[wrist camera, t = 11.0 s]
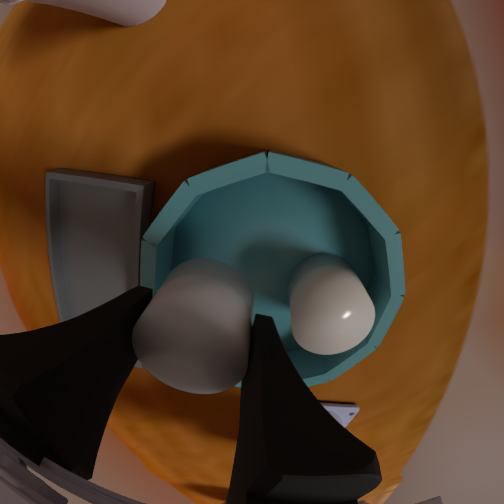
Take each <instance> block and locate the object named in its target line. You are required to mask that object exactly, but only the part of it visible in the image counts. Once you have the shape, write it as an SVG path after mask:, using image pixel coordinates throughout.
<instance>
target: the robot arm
mask: <svg viewBox="0 0 504 504" xmlns="http://www.w3.org/2000/svg"><path fill="white" fill-rule="evenodd" d="M152 298H153V289H151V288H147V287H143V286H140V285H138V286H136V287H134V288H132V289H130V290H128V291H127V292H125V293H123V294H121V295H119V296H117V297H116V298H114V299H112V300H110V301H108V302H106V303H104V304H102V305H100V306H98V307H96V308H94V309H92V310H90V311H88V312H86V313H83V314H81V315H79V316H77V317H74V318H72V319H69V320H66V321H63V322H61V323H58V324H55V325H51V326H47V327H44V328H40V329H36V330H32V331H27V332H22V333H15V334H6V335H0V504H67V503H68V500H67V498H65V497H64V496H62V495H60V494H59V493H58V492H56V491H55V490H54V489H52V488H51V487H50V486H48V485H47V484H46V483H45V482H44V481H43V480H41V479H40V478H38V477H37V476H35V475H34V474H33V473H31V472H30V471H29V470H28V469H27V466H28V467H30V468H31V469H33V470H34V471H35V472H37V473H39V474H40V475H42V476H43V477H45V478H46V479H48V480H50V481H51V482H53V483H54V484H56V485H58V486H60V487H61V488H63V489H65V490H67V491H68V492H70V493H72V494H74V495H76V496H78V497H80V498H82V499H84V500H86V501H88V502H90V503H92V504H145V503H141V502H139V501H136V500H133V499H130V498H127V497H124V496H122V495H119V494H117V493H114V492H112V491H109V490H107V489H105V488H103V487H100V486H98V485H96V484H94V483H92V482H90V481H87V480H89V479H91V478H92V475H93V470H94V466H95V461H96V457H97V453H98V449H99V446H100V443H101V440H102V436H103V433H104V430H105V427H106V425H107V422H108V419H109V416H110V413H111V411H112V408H113V406H114V403H115V401H116V398H117V396H118V394H119V392H120V390H121V388H122V386H123V385H124V383H125V381H126V379H127V378H128V376H129V374H130V372H131V371H132V369H133V367H134V366H135V364H136V362H137V360H138V358H137V356H136V354H135V352H134V349H133V345H132V332H133V328H134V326H135V324H136V322H137V321H138V319H139V318H140V316H141V315H142V313H143V312H144V310H145V309H146V307H147V306H148V304H149V303H150V301H151V300H152ZM358 411H359V406H358V405H352V404H332V403H320V402H319V401H318V400H317V398H316V397H315V396H314V395H313V393H312V392H311V391H310V389H309V388H308V387H307V385H306V384H305V382H304V381H303V379H302V378H301V376H300V374H299V373H298V371H297V369H296V368H295V366H294V364H293V362H292V361H291V359H290V357H289V355H288V353H287V351H286V349H285V347H284V345H283V342H282V340H281V338H280V335H279V333H278V330H277V328H276V325H275V322H274V319H273V318H272V317H271V316H266V315H261V314H255V318H254V322H253V325H252V333H251V342H250V352H249V360H248V367H247V371H246V374H245V376H244V377H243V379H242V380H241V401H240V423H239V433H238V439H237V446H236V452H235V458H234V464H233V470H232V476H231V481H230V487H229V492H228V497H227V503H226V504H369V503H366V502H365V501H364V500H362V501H357V499H359V498H360V497H362V496H364V495H365V494H367V493H369V492H370V491H372V490H373V489H375V488H376V487H377V486H378V485H379V484H380V483H381V481H382V476H381V471H380V465H379V461H378V458H377V455H376V452H375V451H374V450H373V449H371V448H370V447H369V446H367V445H366V444H364V443H363V442H362V441H360V440H359V439H358V438H356V437H355V436H354V435H352V434H351V433H350V432H349V431H348V430H347V429H346V428H345V427H346V426H347V425H348V423H349V422H350V421H351V420H352V419H353V417H354V416H355V415H356V414H357V412H358ZM26 465H27V466H26ZM417 504H442V499H441V497H440V496H438V497H435V498H432V499H429V500H426V501H423V502H419V503H417Z"/></svg>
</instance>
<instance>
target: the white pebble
mask: <svg viewBox="0 0 504 504" xmlns="http://www.w3.org/2000/svg"><path fill="white" fill-rule="evenodd" d="M254 307H255V300H254V294H253V291H252V288H251V286H250V284H249V283H248V281H247V280H246V279H245V277H244V276H243V275H242V274H241V273H240V272H239V271H238V270H236V269H235V268H233V267H232V266H230V265H228V264H226V263H224V262H221V261H218V260H215V259H209V258H197V259H192V260H188V261H185V262H183V263H181V264H179V265H178V266H177V267H175V268H174V269H173V270H172V271H171V273H170V274H169V275H168V277H167V278H166V280H165V281H164V283H163V284H162V285H161V287H160V288H159V290H158V291H157V293H156V294H155V296H154V297H153V298H152V300H151V301H150V303H149V304H148V306H147V307H146V309H145V310H144V312H143V313H142V315H141V316H140V318H139V319H138V321H137V322H136V324H135V326H134V328H133V332H132V345H133V349H134V352H135V354H136V356H137V358H138V359H139V361H140V362H141V364H142V365H143V366H144V368H145V369H146V370H147V371H148V372H149V373H151V374H152V375H153V376H154V377H155V378H157V379H158V380H160V381H161V382H163V383H165V384H167V385H169V386H171V387H173V388H176V389H178V390H181V391H185V392H189V393H195V394H214V393H219V392H223V391H226V390H228V389H230V388H232V387H234V386H235V385H237V384H238V383H239V382H240V381H241V380H242V379H243V377H244V376H245V374H246V371H247V367H248V360H249V352H250V342H251V333H252V325H253V316H254Z"/></svg>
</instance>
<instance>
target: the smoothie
mask: <svg viewBox="0 0 504 504" xmlns="http://www.w3.org/2000/svg"><path fill="white" fill-rule="evenodd" d="M22 1H30V2H36V3H41V4H48V5H53V6H57V7H62V8H66V9H70V10H74V11H78V12H82V13H85V14H89V15H92V16H95V17H99V18H102V19H105V20H108V21H111V22H114V23H117V24H119V25H122V26H136V25H139V24H142V23H144V22H146V21H148V20H149V19H151V18H152V17H154V16H155V15H156V14H157V13H158V12H159V11H160V10H161V9H162V8H163V6H164V5H165V3H166V1H167V0H0V2H1V3H3V4H4V5H14V4H17V3H19V2H22Z"/></svg>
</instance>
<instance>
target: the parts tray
mask: <svg viewBox="0 0 504 504" xmlns="http://www.w3.org/2000/svg"><path fill="white" fill-rule="evenodd" d="M154 186H155V181H150V180H143V179H137V178H131V177H124V176H117V175H110V174H103V173H95V172H88V171H79V170H71V169H62V168H59V169H55V170H51V171H47V172H46V180H45V206H46V229H47V242H48V252H49V261H50V269H51V276H52V282H53V289H54V294H55V300H56V305H57V310H58V314H59V319H60V323H61V322H63V321H66V320H69V319H72V318H74V317H77V316H79V315H81V314H83V313H86V312H88V311H90V310H92V309H94V308H96V307H98V306H100V305H102V304H104V303H106V302H108V301H110V300H112V299H114V298H116V297H117V296H119V295H121V294H123V293H125V292H127V291H128V290H130V289H132V288H134V287H136V286H138V285H140V261H141V240H142V239H144V238H143V236H144V234H145V233H146V231H147V230H148V228H149V227H150V226H151V214H152V204H153V194H154ZM135 367H138V368H141V369H142V367H143V365H142V364H141V362H140V361H139V359H138V360H137V362H136V364H135Z"/></svg>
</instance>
